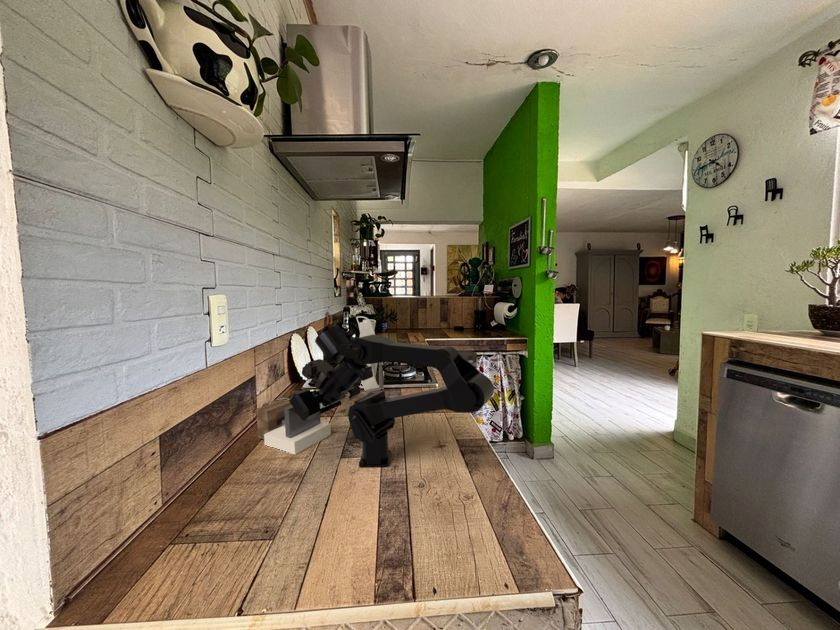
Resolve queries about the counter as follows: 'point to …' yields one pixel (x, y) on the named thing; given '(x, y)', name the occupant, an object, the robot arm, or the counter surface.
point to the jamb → (271, 417)
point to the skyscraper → (370, 384)
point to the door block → (297, 438)
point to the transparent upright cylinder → (469, 356)
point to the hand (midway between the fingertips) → (310, 415)
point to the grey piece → (297, 422)
